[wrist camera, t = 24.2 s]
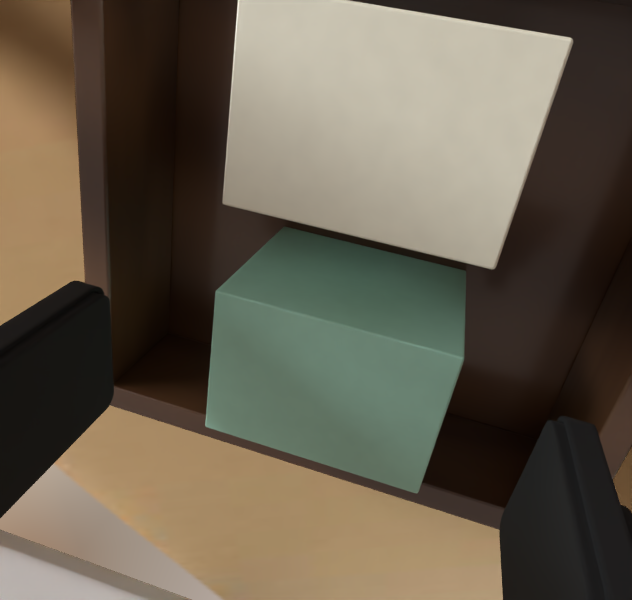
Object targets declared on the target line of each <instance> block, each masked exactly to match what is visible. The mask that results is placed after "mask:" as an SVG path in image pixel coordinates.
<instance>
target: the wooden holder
mask: <svg viewBox="0 0 632 600" xmlns="http://www.w3.org/2000/svg"><path fill="white" fill-rule="evenodd" d="M350 1H356V2H362V3H368V4H374V5H379V6H385V7H391V8H397V9H403V10H409V11H415V12H421V13H427V14H433V15H439V16H445V17H451V18H457V19H463V20H469V21H475V22H481V23H487V24H493V25H499V26H505V27H510V28H516V29H522V30H528V31H534V32H540V33H546V34H552V35H558V36H564V37H570V38H572V39H573V45H572V48H571V51H570V54H569V57H568V59H567V62H566V65H565V68H564V71H563V74H562V77H561V80H560V83H559V86H558V89H557V91H556V94H555V97H554V100H553V103H552V106H551V109H550V112H549V115H548V118H547V120H546V123H545V126H544V129H543V132H542V135H541V138H540V141H539V144H538V147H537V149H536V152H535V155H534V158H533V161H532V164H531V167H530V170H529V173H528V176H527V179H526V181H525V184H524V187H523V190H522V193H521V196H520V199H519V202H518V205H517V208H516V210H515V213H514V216H513V219H512V222H511V225H510V228H509V231H508V234H507V237H506V240H505V242H504V245H503V248H502V251H501V254H500V257H499V260H498V263H497V266H496V268H495V269H488V268H484V267H480V266H476V265H471V264H467V263H463V262H459V261H455V260H451V259H447V258H443V257H438V256H434V255H430V254H426V253H422V252H418V251H414V250H409V249H405V248H401V247H397V246H393V245H389V244H385V243H380V242H376V241H372V240H368V239H364V238H360V237H356V236H352V235H347V234H343V233H339V232H335V231H331V230H327V229H323V228H318V227H314V226H310V225H306V224H302V223H298V222H294V221H289V220H285V219H281V218H277V217H273V216H269V215H265V214H261V213H256V212H252V211H248V210H244V209H240V208H236V207H232V206H227V205H224V204H223V189H224V176H225V162H226V149H227V136H228V123H229V110H230V97H231V84H232V71H233V58H234V45H235V32H236V19H237V6H238V0H71V19H72V38H73V58H74V77H75V97H76V116H77V136H78V155H79V174H80V194H81V213H82V233H83V252H84V272H85V283H87V284H90V285H94V286H98V287H100V288H102V289H103V291H104V295H105V296H107V297H108V298H109V301H110V316H111V338H112V360H113V383H114V395H113V399H112V401H111V403H110V405H111V406H114V407H117V408H121V409H124V410H127V411H130V412H133V413H136V414H139V415H142V416H146V417H149V418H152V419H155V420H158V421H161V422H164V423H167V424H171V425H174V426H177V427H180V428H183V429H186V430H189V431H192V432H196V433H199V434H202V435H205V436H208V437H211V438H214V439H217V440H221V441H224V442H227V443H230V444H233V445H236V446H239V447H242V448H246V449H249V450H252V451H255V452H258V453H261V454H264V455H268V456H271V457H274V458H277V459H280V460H283V461H286V462H289V463H293V464H296V465H299V466H302V467H305V468H308V469H311V470H314V471H318V472H321V473H324V474H327V475H330V476H333V477H336V478H339V479H343V480H346V481H349V482H352V483H355V484H358V485H361V486H364V487H368V488H371V489H374V490H377V491H380V492H383V493H386V494H390V495H393V496H396V497H399V498H402V499H405V500H408V501H411V502H415V503H418V504H421V505H424V506H427V507H430V508H433V509H436V510H440V511H443V512H446V513H449V514H452V515H455V516H458V517H461V518H465V519H468V520H471V521H474V522H477V523H480V524H483V525H486V526H490V527H493V528H496V529H499V530H500V522H501V518H502V514H503V512H504V510H505V508H506V506H507V503H508V501H509V499H510V497H511V495H512V493H513V491H514V489H515V487H516V485H517V482H518V480H519V478H520V476H521V474H522V472H523V470H524V468H525V466H526V464H527V461H528V459H529V457H530V455H531V453H532V451H533V449H534V447H535V445H536V443H537V440H538V438H539V436H540V434H541V432H542V430H543V428H544V426H545V424H546V422H547V421H548V420H553V421H557V420H558V418H559V417H560V416H566V417H570V418H574V419H577V420H581V421H584V422H588V423H592V424H594V425H595V427H596V429H597V432H598V435H599V438H600V441H601V444H602V448H603V451H604V454H605V457H606V460H607V464H608V467H609V470H610V473H611V476H612V479H613V478H614V477H615V475H616V473H617V471H618V470H619V468H620V466H621V464H622V463H623V461H624V459H625V458H626V456H627V454H628V452H629V451H630V449H631V447H632V0H350ZM283 227H289V228H293V229H297V230H301V231H305V232H309V233H313V234H317V235H321V236H325V237H330V238H334V239H338V240H342V241H346V242H350V243H354V244H358V245H362V246H366V247H370V248H374V249H379V250H383V251H387V252H391V253H395V254H399V255H403V256H407V257H411V258H415V259H419V260H424V261H428V262H432V263H436V264H440V265H444V266H448V267H452V268H456V269H460V270H464V271H466V306H465V352H464V362H463V365H462V368H461V371H460V373H459V376H458V379H457V382H456V385H455V388H454V391H453V394H452V397H451V400H450V402H449V405H448V408H447V411H446V414H445V417H444V420H443V423H442V426H441V429H440V431H439V434H438V437H437V440H436V443H435V446H434V449H433V452H432V455H431V458H430V460H429V463H428V466H427V469H426V472H425V475H424V478H423V481H422V484H421V486H420V489H419V492H418V493H413V492H410V491H407V490H403V489H400V488H397V487H394V486H391V485H388V484H384V483H381V482H378V481H375V480H372V479H369V478H365V477H362V476H359V475H356V474H353V473H350V472H347V471H343V470H340V469H337V468H334V467H331V466H328V465H324V464H321V463H318V462H315V461H312V460H309V459H306V458H302V457H299V456H296V455H293V454H290V453H287V452H283V451H280V450H277V449H274V448H271V447H268V446H264V445H261V444H258V443H255V442H252V441H249V440H246V439H242V438H239V437H236V436H233V435H230V434H227V433H223V432H220V431H217V430H214V429H211V428H208V427H206V426H205V422H206V409H207V396H208V383H209V370H210V357H211V344H212V331H213V318H214V305H215V292H216V290H217V289H218V288H219V287H221V286H222V285H223V284H224V283H225V282H226V281H227V280H228V279H229V278H230V277H231V276H232V275H233V274H234V273H235V272H236V271H237V270H239V269H240V268H241V267H242V266H243V265H244V264H245V263H246V262H247V261H248V260H249V259H250V258H251V257H252V256H253V255H254V254H255V253H257V252H258V251H259V250H260V249H261V248H262V247H263V246H264V245H265V244H266V243H267V242H268V241H269V240H270V239H271V238H272V237H274V236H275V235H276V234H277V233H278V232H279V231H280V230H281V229H282V228H283Z"/></svg>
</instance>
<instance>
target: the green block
mask: <svg viewBox="0 0 632 600" xmlns="http://www.w3.org/2000/svg"><path fill="white" fill-rule="evenodd" d="M465 306H466V271H464V270H460V269H456V268H452V267H448V266H444V265H440V264H436V263H432V262H428V261H424V260H419V259H415V258H411V257H407V256H403V255H399V254H395V253H391V252H387V251H383V250H379V249H374V248H370V247H366V246H362V245H358V244H354V243H350V242H346V241H342V240H338V239H334V238H330V237H325V236H321V235H317V234H313V233H309V232H305V231H301V230H297V229H293V228H289V227H283V228H282V229H281V230H280V231H279V232H278V233H277V234H276V235H275V236H274V237H272V238H271V239H270V240H269V241H268V242H267V243H266V244H265V245H264V246H263V247H262V248H261V249H260V250H259V251H258V252H257V253H255V254H254V255H253V256H252V257H251V258H250V259H249V260H248V261H247V262H246V263H245V264H244V265H243V266H242V267H241V268H240V269H239V270H237V271H236V272H235V273H234V274H233V275H232V276H231V277H230V278H229V279H228V280H227V281H226V282H225V283H224V284H223V285H222V286H221V287H219V288H218V289H217V290H216V292H215V305H214V318H213V331H212V344H211V357H210V370H209V383H208V396H207V409H206V422H205V426H206V427H208V428H211V429H214V430H217V431H220V432H223V433H227V434H230V435H233V436H236V437H239V438H242V439H246V440H249V441H252V442H255V443H258V444H261V445H264V446H268V447H271V448H274V449H277V450H280V451H283V452H287V453H290V454H293V455H296V456H299V457H302V458H306V459H309V460H312V461H315V462H318V463H321V464H324V465H328V466H331V467H334V468H337V469H340V470H343V471H347V472H350V473H353V474H356V475H359V476H362V477H365V478H369V479H372V480H375V481H378V482H381V483H384V484H388V485H391V486H394V487H397V488H400V489H403V490H407V491H410V492H413V493H418V492H419V489H420V486H421V484H422V481H423V478H424V475H425V472H426V469H427V466H428V463H429V460H430V458H431V455H432V452H433V449H434V446H435V443H436V440H437V437H438V434H439V431H440V429H441V426H442V423H443V420H444V417H445V414H446V411H447V408H448V405H449V402H450V400H451V397H452V394H453V391H454V388H455V385H456V382H457V379H458V376H459V373H460V371H461V368H462V365H463V362H464V352H465Z"/></svg>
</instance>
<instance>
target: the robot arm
mask: <svg viewBox="0 0 632 600" xmlns="http://www.w3.org/2000/svg"><path fill="white" fill-rule="evenodd" d="M113 395H114V383H113V360H112V338H111V316H110V301H109V298H108V297H107V296H105V295H104V291H103V289H102V288H100V287H98V286H94V285H90V284H87V283H83V282H80V281H73V282H70V283H68V284H67V285H65V286H64V287H62V288H60V289H59V290H57V291H56V292H54V293H52V294H51V295H49V296H48V297H46V298H44V299H43V300H41V301H39V302H38V303H36V304H35V305H33V306H31V307H30V308H28V309H27V310H25V311H23V312H22V313H20V314H19V315H17V316H15V317H14V318H12V319H10V320H9V321H7V322H6V323H4V324H2V325H1V326H0V518H1V517H2V516H3V515H4V514H5V513H6V512H7V511H8V510H9V509H10V508H11V507H12V506H13V505H14V504H15V502H17V501H18V499H19V498H20V497H21V496H22V495H23V494H24V493H25V492H26V491H27V490H28V489H29V488H30V487H31V486H32V485H33V484H34V483H35V482H36V481H37V480H38V479H39V478H40V477H41V476H42V475H43V474H44V473H45V472H46V471H47V470H48V469H49V468H50V467H51V466H52V465H53V464H54V462H55V461H56V460H57V459H58V458H59V457H60V456H61V455H62V454H63V453H64V452H65V451H66V450H67V449H68V448H69V447H70V446H71V445H72V444H73V443H74V442H75V441H76V440H77V439H78V438H79V437H80V436H81V435H82V434H83V433H84V432H85V431H86V430H87V429H88V428H89V426H90V425H91V424H92V423H93V422H94V421H95V420H96V419H97V418H98V417H99V416H100V415H101V414H102V413H103V412H104V411H105V410H106V409H107V408H108V407H109V405H110V403H111V401H112V399H113ZM500 551H501V569H502V588H503V600H632V513H631V511H630V510H629V509H628V508H627V507H626V506H622V505H620V502H619V499H618V495H617V492H616V489H615V486H614V483H613V479H612V476H611V473H610V470H609V467H608V464H607V460H606V457H605V454H604V451H603V448H602V444H601V441H600V438H599V435H598V432H597V429H596V427H595V425H594V424H592V423H588V422H584V421H581V420H577V419H574V418H570V417H566V416H560V417H559V418H558V420H557V421H553V420H548V421H547V422H546V424H545V426H544V428H543V430H542V432H541V434H540V436H539V438H538V440H537V443H536V445H535V447H534V449H533V451H532V453H531V455H530V457H529V459H528V461H527V464H526V466H525V468H524V470H523V472H522V474H521V476H520V478H519V480H518V482H517V485H516V487H515V489H514V491H513V493H512V495H511V497H510V499H509V501H508V503H507V506H506V508H505V510H504V512H503V514H502V518H501V522H500ZM0 600H191V599H188V598H185V597H183V596H180V595H177V594H175V593H172V592H169V591H167V590H164V589H161V588H158V587H156V586H153V585H150V584H148V583H145V582H142V581H139V580H137V579H134V578H131V577H128V576H126V575H123V574H120V573H118V572H115V571H112V570H109V569H107V568H104V567H101V566H98V565H96V564H93V563H91V562H88V561H85V560H82V559H80V558H77V557H74V556H71V555H69V554H66V553H63V552H60V551H58V550H55V549H52V548H49V547H46V546H44V545H41V544H38V543H35V542H33V541H30V540H27V539H24V538H22V537H19V536H16V535H13V534H11V533H8V532H5V531H2V530H0Z"/></svg>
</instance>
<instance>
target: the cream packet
mask: <svg viewBox="0 0 632 600" xmlns="http://www.w3.org/2000/svg"><path fill="white" fill-rule="evenodd" d="M572 45H573V39H572V38H570V37H564V36H558V35H552V34H546V33H540V32H534V31H528V30H522V29H516V28H510V27H505V26H499V25H493V24H487V23H481V22H475V21H469V20H463V19H457V18H451V17H445V16H439V15H433V14H427V13H421V12H415V11H409V10H403V9H397V8H391V7H385V6H379V5H374V4H368V3H362V2H356V1H350V0H238V6H237V19H236V32H235V45H234V58H233V71H232V84H231V97H230V110H229V123H228V136H227V149H226V162H225V176H224V189H223V204H224V205H227V206H232V207H236V208H240V209H244V210H248V211H252V212H256V213H261V214H265V215H269V216H273V217H277V218H281V219H285V220H289V221H294V222H298V223H302V224H306V225H310V226H314V227H318V228H323V229H327V230H331V231H335V232H339V233H343V234H347V235H352V236H356V237H360V238H364V239H368V240H372V241H376V242H380V243H385V244H389V245H393V246H397V247H401V248H405V249H409V250H414V251H418V252H422V253H426V254H430V255H434V256H438V257H443V258H447V259H451V260H455V261H459V262H463V263H467V264H471V265H476V266H480V267H484V268H488V269H495V268H496V266H497V263H498V260H499V257H500V254H501V251H502V248H503V245H504V242H505V240H506V237H507V234H508V231H509V228H510V225H511V222H512V219H513V216H514V213H515V210H516V208H517V205H518V202H519V199H520V196H521V193H522V190H523V187H524V184H525V181H526V179H527V176H528V173H529V170H530V167H531V164H532V161H533V158H534V155H535V152H536V149H537V147H538V144H539V141H540V138H541V135H542V132H543V129H544V126H545V123H546V120H547V118H548V115H549V112H550V109H551V106H552V103H553V100H554V97H555V94H556V91H557V89H558V86H559V83H560V80H561V77H562V74H563V71H564V68H565V65H566V62H567V59H568V57H569V54H570V51H571V48H572Z"/></svg>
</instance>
